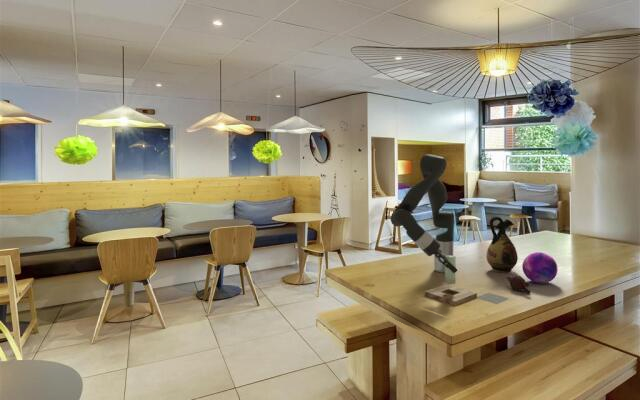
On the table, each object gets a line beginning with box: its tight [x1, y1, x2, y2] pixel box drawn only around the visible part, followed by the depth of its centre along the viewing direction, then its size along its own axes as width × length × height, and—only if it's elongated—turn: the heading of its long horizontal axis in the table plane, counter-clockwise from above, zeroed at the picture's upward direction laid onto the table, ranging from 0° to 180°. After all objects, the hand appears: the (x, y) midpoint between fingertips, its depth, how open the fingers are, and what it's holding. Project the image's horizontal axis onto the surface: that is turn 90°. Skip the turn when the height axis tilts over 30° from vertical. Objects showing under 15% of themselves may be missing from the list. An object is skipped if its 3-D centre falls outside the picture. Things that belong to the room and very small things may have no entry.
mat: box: [476, 292, 510, 305], centre depth 167 cm, size 10×10×1 cm
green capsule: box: [444, 255, 457, 285], centre depth 170 cm, size 4×4×12 cm
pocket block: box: [424, 283, 478, 306], centre depth 171 cm, size 16×16×2 cm
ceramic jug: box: [485, 215, 519, 274], centre depth 208 cm, size 17×15×30 cm
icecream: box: [505, 275, 531, 295], centre depth 178 cm, size 7×7×15 cm
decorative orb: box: [521, 251, 559, 284], centre depth 187 cm, size 15×15×15 cm
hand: (454, 269), depth 170 cm, fingers closed on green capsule, 4 cm apart
